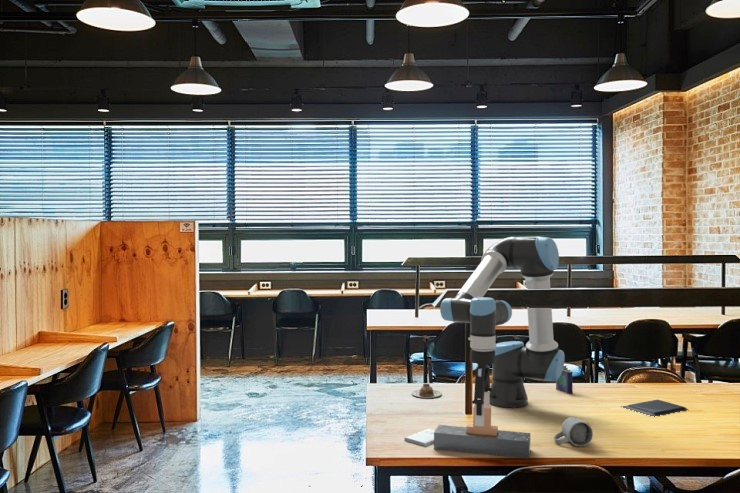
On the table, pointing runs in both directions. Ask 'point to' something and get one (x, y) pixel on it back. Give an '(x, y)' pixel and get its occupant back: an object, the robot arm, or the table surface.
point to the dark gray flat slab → (655, 408)
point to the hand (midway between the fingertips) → (482, 419)
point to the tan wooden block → (487, 427)
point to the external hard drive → (422, 437)
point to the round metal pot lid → (426, 392)
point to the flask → (565, 381)
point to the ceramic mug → (575, 432)
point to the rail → (482, 442)
